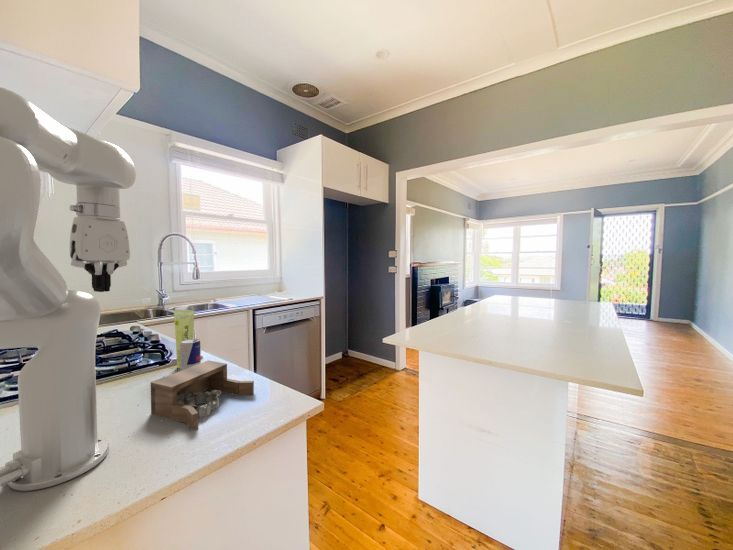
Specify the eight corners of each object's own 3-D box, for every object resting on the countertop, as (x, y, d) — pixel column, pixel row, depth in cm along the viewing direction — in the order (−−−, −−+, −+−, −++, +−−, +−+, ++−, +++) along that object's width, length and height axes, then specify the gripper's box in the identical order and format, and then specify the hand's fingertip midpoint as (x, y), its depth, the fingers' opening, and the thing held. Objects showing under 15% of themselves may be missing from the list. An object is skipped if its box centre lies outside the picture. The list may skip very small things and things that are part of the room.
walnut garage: (193, 430, 65) (193, 396, 64) (144, 416, 70) (143, 384, 70) (255, 393, 83) (255, 366, 83) (212, 384, 88) (212, 358, 88)
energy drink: (203, 379, 92) (202, 340, 91) (183, 384, 88) (183, 344, 87) (197, 374, 95) (196, 337, 95) (178, 379, 91) (177, 340, 91)
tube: (175, 370, 98) (174, 311, 97) (174, 365, 102) (173, 309, 101) (194, 367, 101) (194, 310, 100) (193, 362, 105) (192, 308, 104)
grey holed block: (224, 405, 77) (224, 390, 77) (201, 420, 70) (201, 403, 69) (189, 399, 79) (188, 384, 79) (164, 414, 72) (163, 397, 72)
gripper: (68, 207, 62) (71, 295, 63) (143, 217, 76) (145, 289, 77) (47, 209, 64) (50, 293, 65) (123, 218, 78) (125, 287, 79)
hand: (101, 291), depth 71 cm, fingers closed
